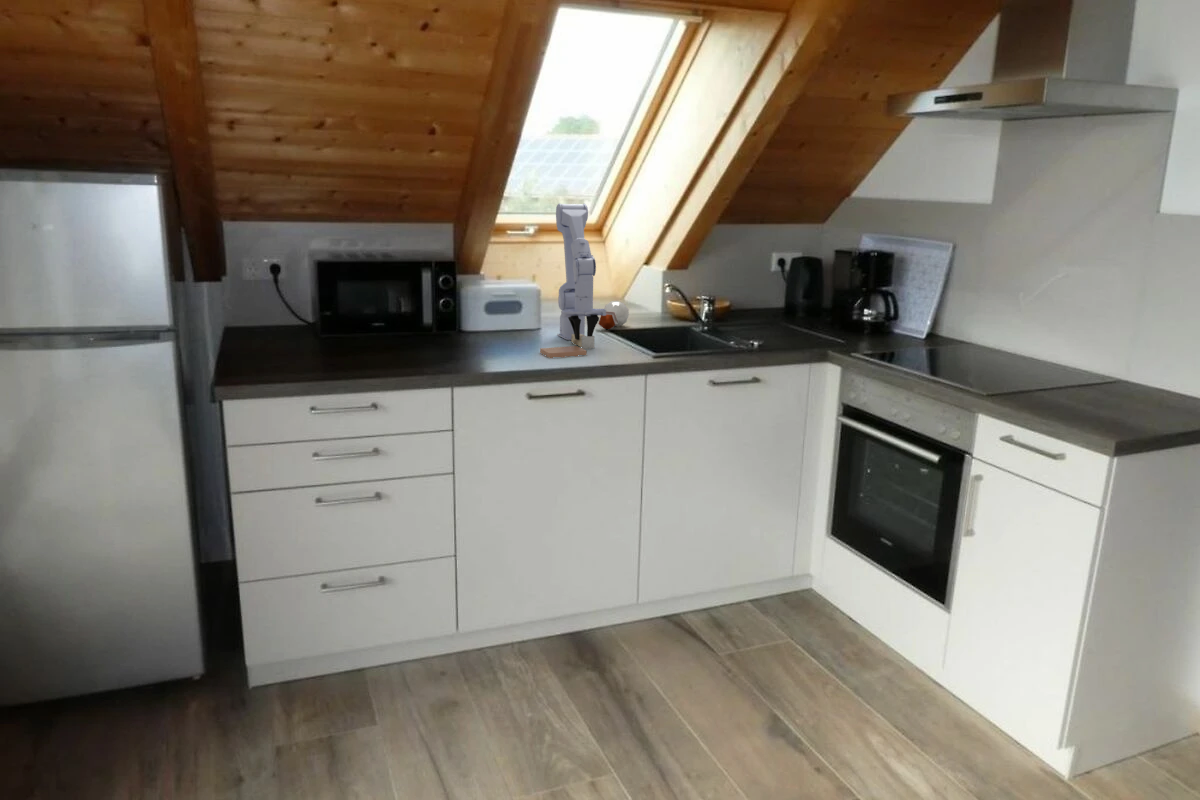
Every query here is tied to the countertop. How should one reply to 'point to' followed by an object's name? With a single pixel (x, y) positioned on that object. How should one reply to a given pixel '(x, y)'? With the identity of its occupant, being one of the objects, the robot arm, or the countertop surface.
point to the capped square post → (584, 341)
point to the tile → (563, 351)
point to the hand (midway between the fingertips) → (583, 338)
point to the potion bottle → (614, 315)
